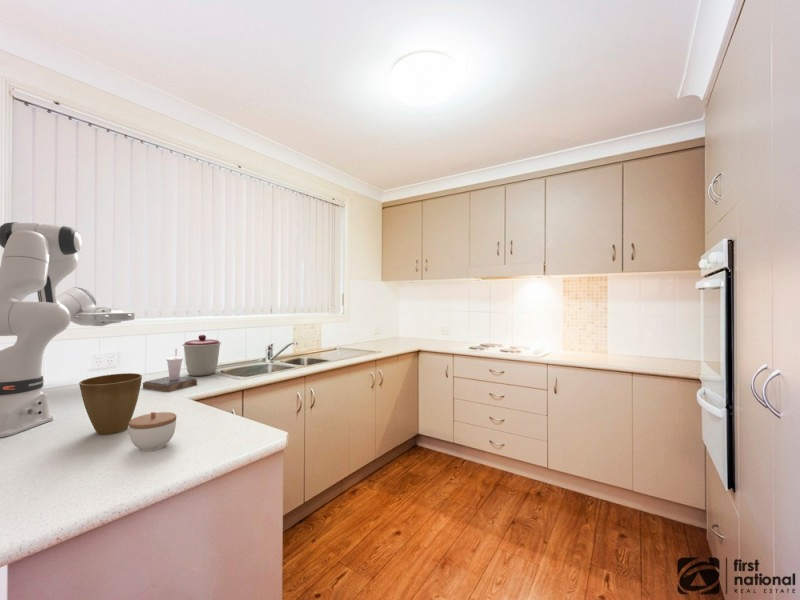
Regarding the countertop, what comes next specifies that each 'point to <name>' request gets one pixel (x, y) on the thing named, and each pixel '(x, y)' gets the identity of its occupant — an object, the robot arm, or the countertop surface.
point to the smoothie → (174, 366)
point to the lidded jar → (152, 430)
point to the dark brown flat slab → (169, 384)
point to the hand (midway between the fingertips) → (119, 317)
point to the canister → (201, 356)
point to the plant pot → (111, 400)
